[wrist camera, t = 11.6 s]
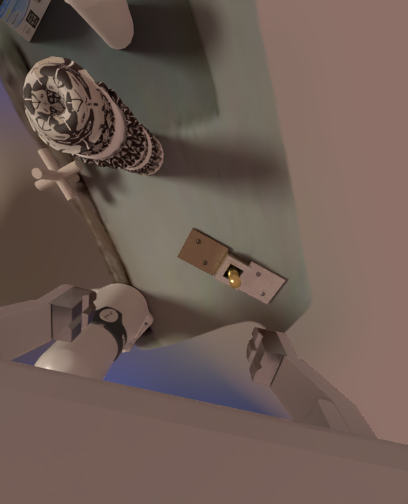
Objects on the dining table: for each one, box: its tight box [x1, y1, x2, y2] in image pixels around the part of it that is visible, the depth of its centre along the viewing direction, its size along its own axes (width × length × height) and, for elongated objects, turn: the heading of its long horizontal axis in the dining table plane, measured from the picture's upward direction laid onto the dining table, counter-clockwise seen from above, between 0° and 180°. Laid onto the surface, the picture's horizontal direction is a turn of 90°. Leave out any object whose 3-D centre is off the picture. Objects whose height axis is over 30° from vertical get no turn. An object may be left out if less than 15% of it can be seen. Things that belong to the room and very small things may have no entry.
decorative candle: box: [23, 56, 164, 175], centre depth 29 cm, size 9×9×25 cm
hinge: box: [178, 228, 285, 304], centre depth 46 cm, size 26×8×4 cm, turn 61°
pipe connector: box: [32, 148, 83, 201], centre depth 38 cm, size 10×10×10 cm
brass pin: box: [227, 264, 241, 288], centre depth 44 cm, size 2×2×9 cm
